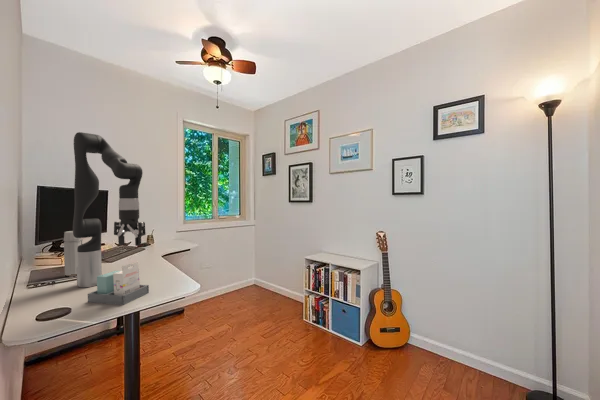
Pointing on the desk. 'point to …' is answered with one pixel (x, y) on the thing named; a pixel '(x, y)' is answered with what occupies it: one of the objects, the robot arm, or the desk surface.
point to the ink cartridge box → (126, 279)
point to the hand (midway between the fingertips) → (129, 245)
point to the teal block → (105, 283)
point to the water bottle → (71, 252)
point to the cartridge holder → (118, 296)
